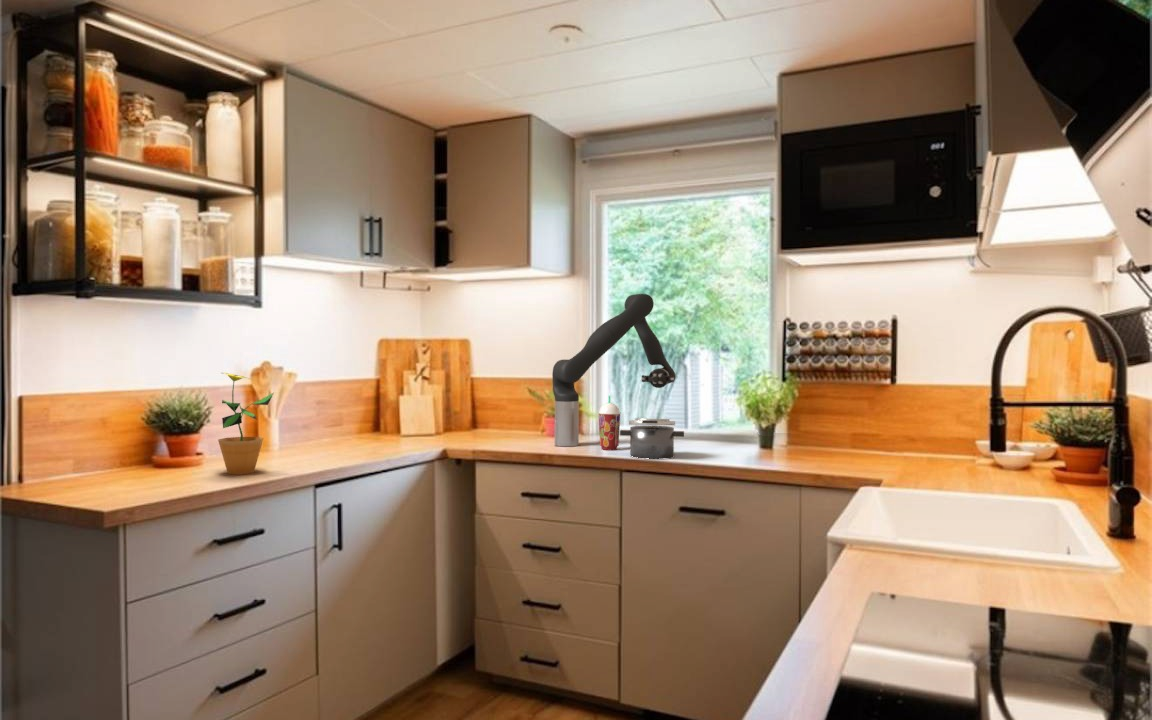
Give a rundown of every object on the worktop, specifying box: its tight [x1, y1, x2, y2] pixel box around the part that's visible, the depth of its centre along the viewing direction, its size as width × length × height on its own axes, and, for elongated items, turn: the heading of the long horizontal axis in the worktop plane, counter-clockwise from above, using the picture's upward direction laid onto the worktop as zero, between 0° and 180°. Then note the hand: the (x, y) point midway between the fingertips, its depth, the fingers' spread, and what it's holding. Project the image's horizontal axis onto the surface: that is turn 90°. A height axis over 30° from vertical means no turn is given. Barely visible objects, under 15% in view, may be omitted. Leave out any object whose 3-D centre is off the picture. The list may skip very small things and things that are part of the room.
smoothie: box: [597, 395, 622, 451], centre depth 286 cm, size 8×8×20 cm
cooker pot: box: [619, 425, 685, 460], centre depth 268 cm, size 17×22×10 cm
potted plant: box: [217, 372, 274, 475], centre depth 229 cm, size 18×19×30 cm
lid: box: [628, 418, 676, 426], centre depth 266 cm, size 19×16×2 cm
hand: (656, 379), depth 286 cm, fingers closed
